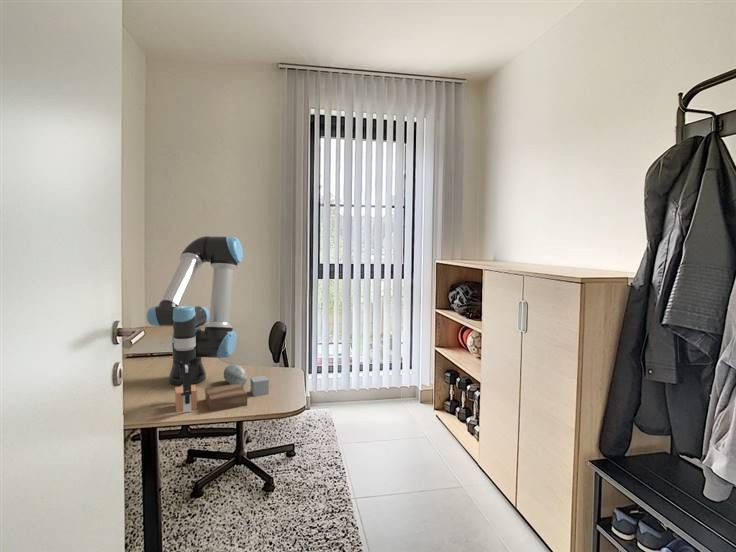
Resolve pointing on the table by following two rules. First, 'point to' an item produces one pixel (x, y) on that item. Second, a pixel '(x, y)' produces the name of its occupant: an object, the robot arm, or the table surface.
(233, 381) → the yarn skein
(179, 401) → the terracotta cube
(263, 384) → the grey cube
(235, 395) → the walnut block
